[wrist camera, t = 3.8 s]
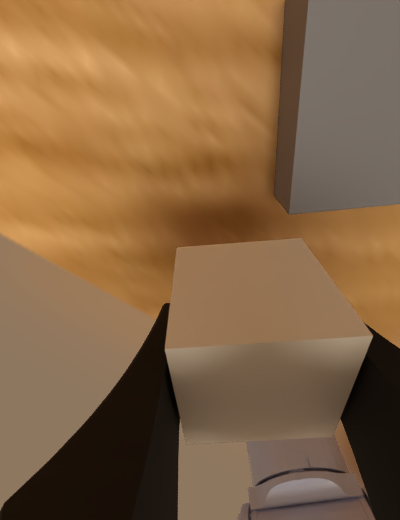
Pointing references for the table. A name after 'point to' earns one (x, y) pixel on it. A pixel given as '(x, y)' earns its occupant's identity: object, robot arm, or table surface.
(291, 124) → the charcoal base
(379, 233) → the table surface
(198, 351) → the cream cube
